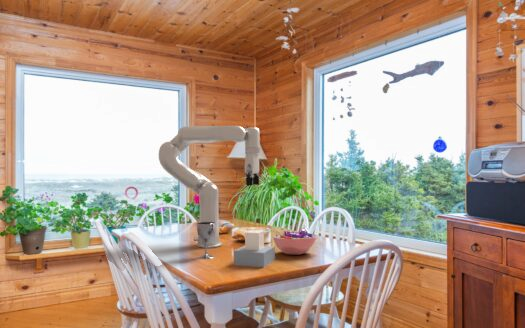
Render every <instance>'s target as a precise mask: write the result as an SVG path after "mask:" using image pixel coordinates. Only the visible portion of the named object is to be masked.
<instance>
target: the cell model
mask: <svg viewBox="0 0 525 328" xmlns="http://www.w3.org/2000/svg"><path fill="white" fill-rule="evenodd" d="M317 238H318V236H317V235H316V234H313V233H309V232H308V231H307V230H306V229H305V228H301V229H300V231H299V232H298V231H297V232H295V231H292V232H291V231H288V230H287V231H286V230H284V231H283V233H282V232H280V233H276V234H273V236H272V239H273V242H274V245H275V247H276V248H277V249H278V250H279V251H281V253H284V254H286V255H294V256H295V255H303V254H306V253H308V252H309V251H310V250H311V249H312V247H313V246H314V244H315V242H316V240H317Z"/></svg>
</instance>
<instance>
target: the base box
mask: <svg viewBox="0 0 525 328" xmlns="http://www.w3.org/2000/svg"><path fill="white" fill-rule="evenodd" d="M275 254H276V246H272V245H271V246H270V245H264V248H263V249H261V250H259V251H258V250H245V245H243V246H241V247H239V248H237V249H234V250H233V265H234V266H243V267H255V268H256V267H257V268H266V267H267V266H268V265H270V264H271V263H273V262H274V261H275V260H276V255H275Z"/></svg>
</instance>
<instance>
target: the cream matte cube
mask: <svg viewBox="0 0 525 328" xmlns="http://www.w3.org/2000/svg"><path fill="white" fill-rule="evenodd" d="M244 240H245V242H244V246H245V250H258V251H259V250H261V249H263V248H264V246H265V230H257V229H256V230H252V229H250V230H247V231H245V232H244Z"/></svg>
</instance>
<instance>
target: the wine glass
mask: <svg viewBox="0 0 525 328" xmlns="http://www.w3.org/2000/svg"><path fill="white" fill-rule="evenodd" d="M214 230H215V222H200V221H198V222H196V232H197V235H198V236H197V237H200V239H201V240H202V241H203V242H204V245H205V248H204V254H202V255H198V256H197V258H198V259H201V260H206V259H208V260H209V259H214V258H215V255H214V254H213V255H212V254H208V248H207V244H208V242H209V240H210V239H211V238H212V237H213V235H214Z"/></svg>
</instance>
